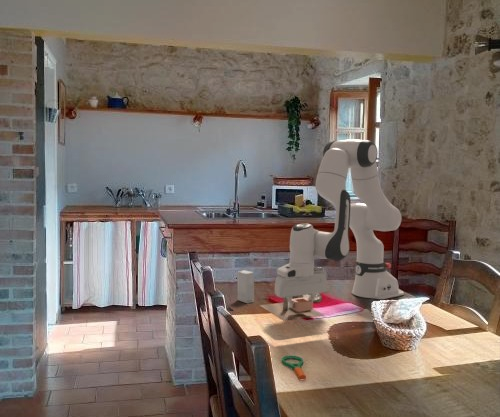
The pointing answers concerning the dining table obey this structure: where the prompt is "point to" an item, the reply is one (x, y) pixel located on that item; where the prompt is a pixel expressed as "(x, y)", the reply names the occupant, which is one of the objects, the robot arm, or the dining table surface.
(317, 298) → the long grey stone
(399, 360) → the dining table surface
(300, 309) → the chunky salmon square frame
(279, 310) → the wooden peg board
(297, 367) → the magnifying glass
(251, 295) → the skincare box
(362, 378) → the dining table surface
